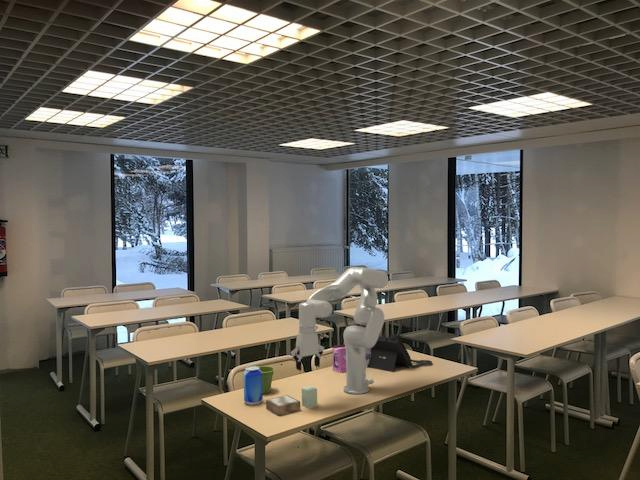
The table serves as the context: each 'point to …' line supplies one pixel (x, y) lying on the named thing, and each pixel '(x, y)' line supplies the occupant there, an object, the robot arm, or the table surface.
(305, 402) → the green block
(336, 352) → the gum box
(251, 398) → the beer can
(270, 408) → the base block
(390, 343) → the office phone
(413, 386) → the table surface
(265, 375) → the plant pot
